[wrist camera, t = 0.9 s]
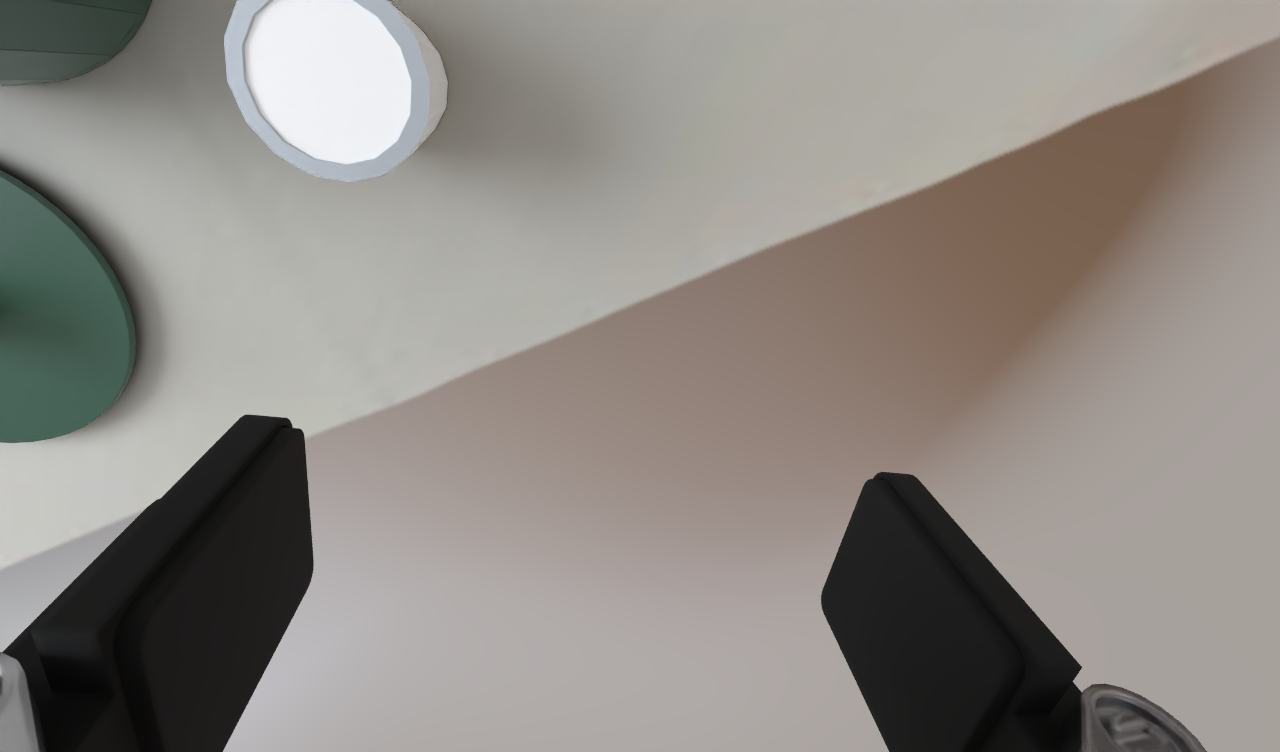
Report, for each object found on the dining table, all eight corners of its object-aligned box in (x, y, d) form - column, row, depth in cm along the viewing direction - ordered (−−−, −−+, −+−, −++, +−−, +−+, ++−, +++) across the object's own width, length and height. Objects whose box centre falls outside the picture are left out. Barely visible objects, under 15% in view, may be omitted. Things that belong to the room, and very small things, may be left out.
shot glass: (440, 183, 30) (404, 210, 23) (291, 125, 28) (209, 138, 22) (480, 35, 27) (452, 21, 21) (319, -39, 25) (235, -78, 19)
